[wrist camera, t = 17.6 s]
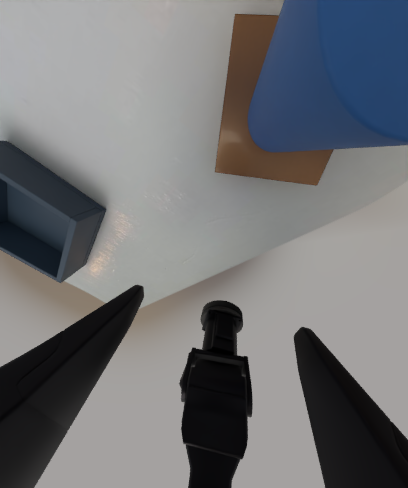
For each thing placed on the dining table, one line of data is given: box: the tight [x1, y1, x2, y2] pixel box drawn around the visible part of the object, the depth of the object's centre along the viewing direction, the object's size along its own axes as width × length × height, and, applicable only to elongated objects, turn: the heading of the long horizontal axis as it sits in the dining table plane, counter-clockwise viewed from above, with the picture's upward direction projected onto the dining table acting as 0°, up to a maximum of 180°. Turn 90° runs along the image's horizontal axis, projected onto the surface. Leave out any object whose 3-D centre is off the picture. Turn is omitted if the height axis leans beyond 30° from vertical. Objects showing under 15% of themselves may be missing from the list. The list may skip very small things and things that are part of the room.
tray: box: [0, 141, 106, 283], centre depth 22 cm, size 14×14×5 cm
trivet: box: [215, 14, 333, 185], centre depth 13 cm, size 10×10×2 cm
